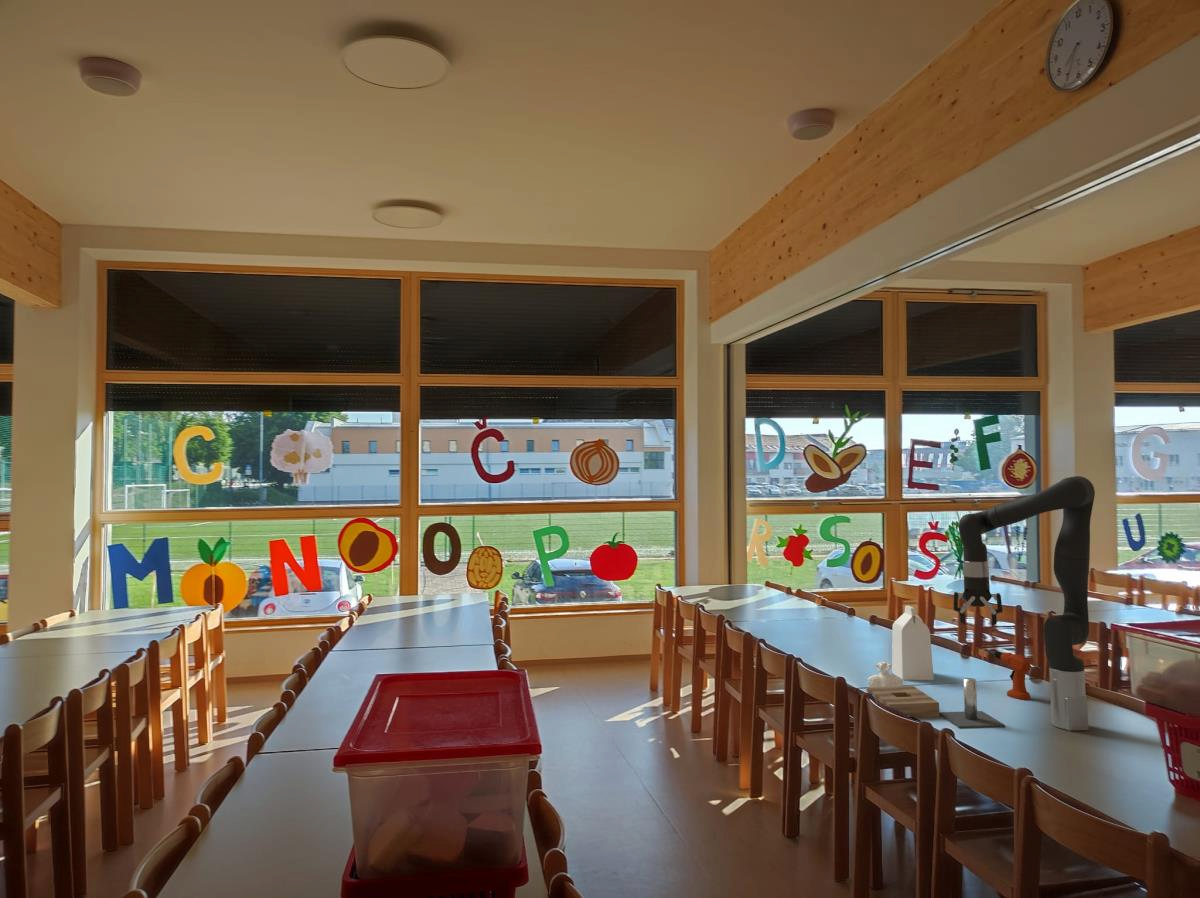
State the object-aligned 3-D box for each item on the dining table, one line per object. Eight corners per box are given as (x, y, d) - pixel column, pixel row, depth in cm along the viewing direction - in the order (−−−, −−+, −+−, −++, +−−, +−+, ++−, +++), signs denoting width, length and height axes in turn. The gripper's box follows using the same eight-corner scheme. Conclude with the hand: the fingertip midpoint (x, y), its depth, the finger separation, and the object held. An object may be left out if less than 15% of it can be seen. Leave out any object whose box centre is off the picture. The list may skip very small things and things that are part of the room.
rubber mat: (1004, 726, 238) (1004, 724, 238) (959, 728, 238) (958, 726, 238) (981, 712, 252) (981, 710, 252) (938, 714, 252) (938, 712, 252)
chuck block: (939, 717, 249) (939, 702, 249) (889, 718, 249) (888, 704, 249) (913, 699, 269) (913, 685, 269) (866, 700, 269) (866, 687, 269)
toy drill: (987, 681, 283) (990, 640, 282) (1033, 701, 266) (1036, 658, 265) (977, 683, 281) (980, 642, 280) (1022, 703, 264) (1026, 659, 263)
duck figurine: (902, 698, 278) (896, 667, 285) (906, 689, 272) (900, 658, 280) (867, 697, 280) (862, 667, 287) (871, 689, 274) (865, 658, 281)
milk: (891, 672, 305) (889, 604, 306) (922, 671, 305) (919, 604, 306) (902, 680, 293) (899, 609, 294) (933, 679, 293) (931, 609, 294)
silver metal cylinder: (979, 719, 243) (978, 680, 244) (968, 720, 243) (966, 681, 244) (974, 716, 247) (972, 677, 247) (962, 716, 247) (961, 678, 247)
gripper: (999, 573, 257) (1001, 624, 256) (951, 573, 263) (954, 622, 262) (1001, 576, 250) (1003, 628, 250) (952, 575, 256) (954, 626, 255)
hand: (978, 625), depth 256 cm, fingers open, 8 cm apart
